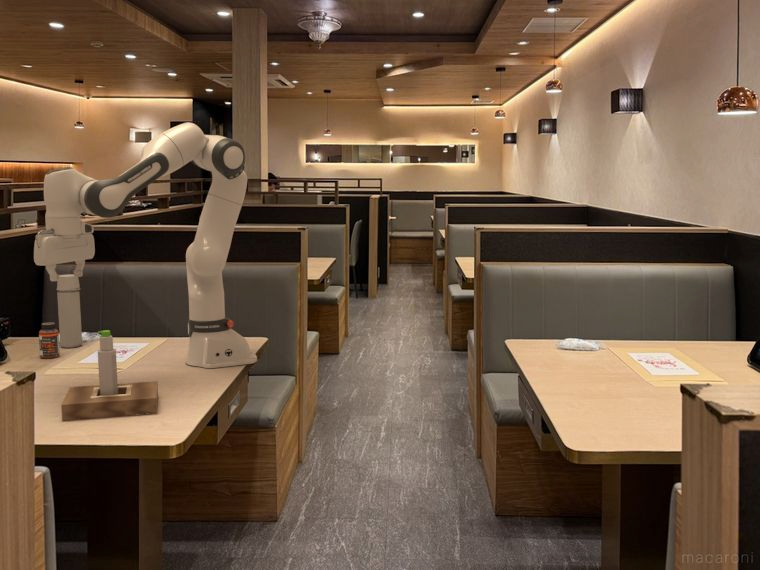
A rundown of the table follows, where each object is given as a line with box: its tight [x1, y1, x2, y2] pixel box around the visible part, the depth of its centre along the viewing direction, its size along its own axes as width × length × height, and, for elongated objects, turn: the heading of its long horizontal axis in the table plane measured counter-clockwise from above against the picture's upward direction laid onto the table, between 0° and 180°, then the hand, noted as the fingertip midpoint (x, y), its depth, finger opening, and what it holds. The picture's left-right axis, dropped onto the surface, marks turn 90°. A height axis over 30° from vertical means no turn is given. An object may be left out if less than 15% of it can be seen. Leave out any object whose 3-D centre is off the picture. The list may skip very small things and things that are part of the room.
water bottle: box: [55, 273, 83, 349], centre depth 257 cm, size 9×8×25 cm
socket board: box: [60, 380, 159, 421], centre depth 189 cm, size 22×16×4 cm
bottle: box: [97, 329, 119, 396], centre depth 188 cm, size 4×4×20 cm
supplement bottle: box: [38, 322, 61, 360], centre depth 242 cm, size 6×6×11 cm
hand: (66, 278), depth 201 cm, fingers open, 8 cm apart
